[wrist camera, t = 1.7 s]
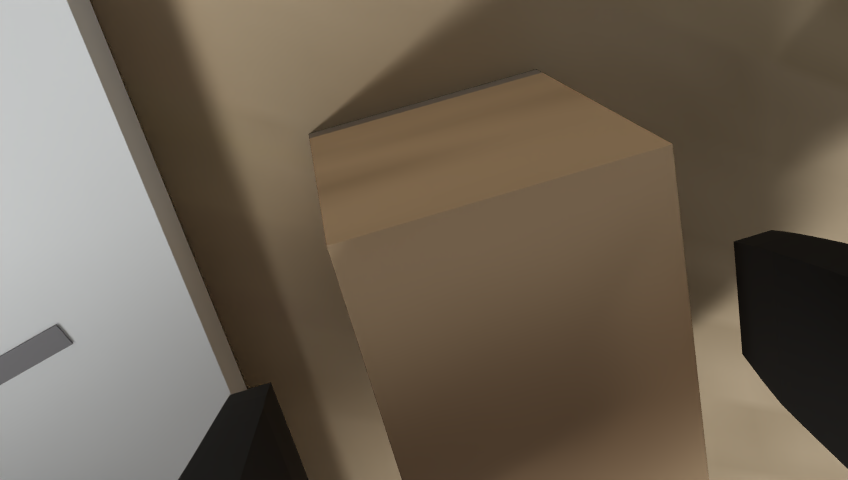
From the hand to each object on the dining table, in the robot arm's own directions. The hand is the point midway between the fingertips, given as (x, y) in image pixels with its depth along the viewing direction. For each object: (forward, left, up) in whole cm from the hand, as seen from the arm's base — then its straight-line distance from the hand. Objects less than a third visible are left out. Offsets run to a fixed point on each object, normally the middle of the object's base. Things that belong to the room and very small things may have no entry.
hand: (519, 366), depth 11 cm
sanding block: (0, 0, -3) cm, 3 cm away
